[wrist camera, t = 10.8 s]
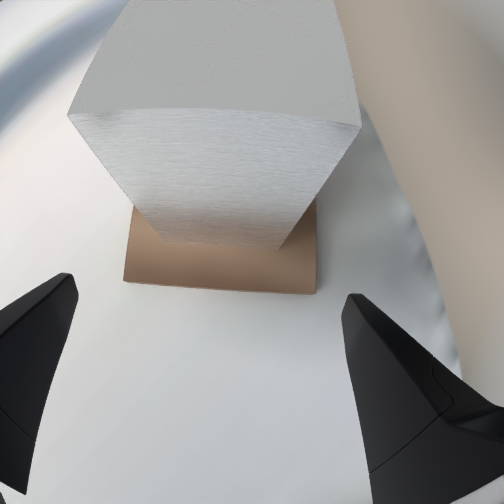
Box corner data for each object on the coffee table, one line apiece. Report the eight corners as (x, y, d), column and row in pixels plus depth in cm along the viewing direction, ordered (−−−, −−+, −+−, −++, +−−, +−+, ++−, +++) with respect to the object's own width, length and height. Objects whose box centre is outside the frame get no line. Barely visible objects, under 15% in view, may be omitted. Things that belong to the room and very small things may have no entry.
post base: (311, 294, 18) (337, 287, 13) (127, 282, 17) (97, 270, 13) (310, 134, 20) (327, 95, 16) (154, 125, 19) (141, 84, 15)
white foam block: (277, 250, 17) (362, 126, 6) (165, 243, 17) (66, 115, 5) (279, 152, 19) (330, -10, 7) (180, 146, 18) (142, -18, 7)
